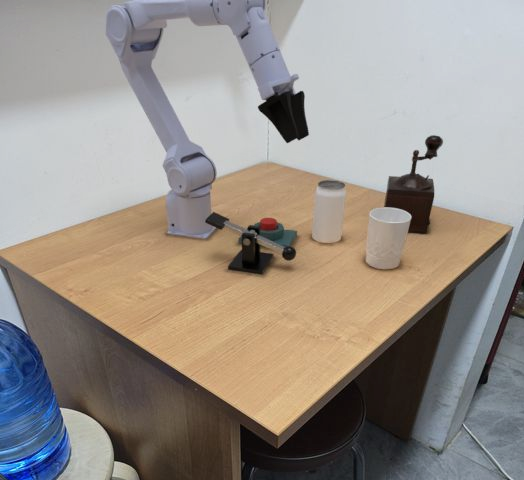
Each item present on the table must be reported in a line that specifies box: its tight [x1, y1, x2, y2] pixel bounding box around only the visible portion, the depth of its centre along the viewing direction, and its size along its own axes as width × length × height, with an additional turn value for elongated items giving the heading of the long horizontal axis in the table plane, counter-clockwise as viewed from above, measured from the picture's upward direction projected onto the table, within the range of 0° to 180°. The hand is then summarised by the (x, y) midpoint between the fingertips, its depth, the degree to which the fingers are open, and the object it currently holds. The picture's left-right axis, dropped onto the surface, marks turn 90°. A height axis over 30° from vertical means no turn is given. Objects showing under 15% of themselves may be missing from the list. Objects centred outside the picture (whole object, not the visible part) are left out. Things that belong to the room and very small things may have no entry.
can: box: [311, 179, 347, 244], centre depth 104 cm, size 6×6×12 cm
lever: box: [205, 211, 297, 262], centre depth 94 cm, size 18×4×3 cm, turn 73°
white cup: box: [365, 206, 412, 270], centre depth 96 cm, size 8×8×10 cm
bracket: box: [227, 224, 275, 276], centre depth 95 cm, size 7×8×7 cm
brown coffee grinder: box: [383, 134, 444, 234], centre depth 112 cm, size 16×11×18 cm
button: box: [259, 217, 278, 231], centre depth 104 cm, size 4×4×2 cm
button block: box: [238, 221, 298, 248], centre depth 106 cm, size 11×8×3 cm
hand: (298, 139), depth 85 cm, fingers open, 7 cm apart
